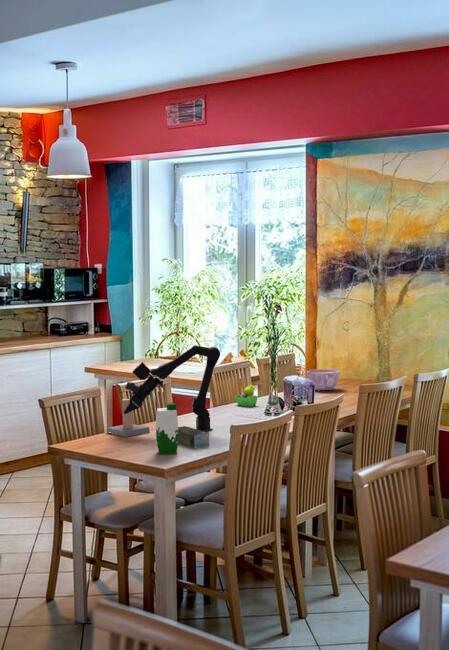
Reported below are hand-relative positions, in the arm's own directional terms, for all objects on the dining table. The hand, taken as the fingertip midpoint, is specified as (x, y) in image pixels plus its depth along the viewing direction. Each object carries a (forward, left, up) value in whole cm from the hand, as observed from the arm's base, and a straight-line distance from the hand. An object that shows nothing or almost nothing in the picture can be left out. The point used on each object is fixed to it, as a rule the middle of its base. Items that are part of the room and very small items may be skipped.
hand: (124, 411), depth 408 cm
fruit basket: (+13, -92, -10) cm, 94 cm away
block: (-1, -1, -7) cm, 7 cm away
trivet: (-1, -1, -10) cm, 10 cm away
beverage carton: (-41, -4, -10) cm, 43 cm away
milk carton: (-48, +14, -10) cm, 51 cm away
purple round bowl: (+18, -161, -10) cm, 162 cm away
